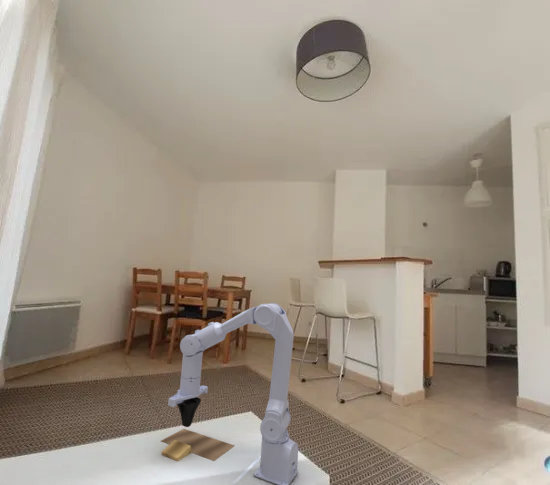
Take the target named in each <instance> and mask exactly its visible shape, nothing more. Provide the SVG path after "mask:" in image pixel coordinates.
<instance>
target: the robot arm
mask: <svg viewBox="0 0 550 485" xmlns="http://www.w3.org/2000/svg"><path fill="white" fill-rule="evenodd" d="M248 324H249V325H256V324H257V325H258V326H259V327H260V328H263V329H264V330H266V331H267V332H268V333H269V334H270V335H271V337H273V339H274V340H275V341H274V351H273V360H272V367H271V368H272V370H271V378H270V387H269V396H268V401H267V406H266V407H265V408H266V409H265V414H264V418H263V419H262V420H261V422H260V426H259V429H260V430H259V431H260V434H261V449H260V450H261V451H260V466H259V468H257V469H256V471H254V473H253V476H254V477H255V478H259V479H261V480H263V481H267V482H269V483H272V484H274V485H290V484H291V482H292V481H293V480H294V479H295V478H296V476H297V475H298V473H299V470H298V463H299V461H298V460H299V459H298V458H299V445H298V443H297V442H295V441H293V440H292V439H291V438H290V434H289V431H288V427H289V425H290V423H291V420H292V419H291V413H290V409H289V408H290V407H289V405H290V402H289V400H288V396H289V387H290V386H289V384H290V377H291V367H292V358H293V357H292V355H293V346H294V339H295V338H294V336H295V334H294V330H293V328H292V325H291V323H290V321H289V319H288V317H287V312H286V311H285V309H283V308H282V306H281V305H280V304H278V303H276V302H269V303H262V304H259V305H258V306H254V307H250V308H248V309H246V310H244V311H243V312H241V313H239V314H237V315H235V316H234V317H231V318H230V319H229V320H226V321H224V322H223V323H220V322H218V321H216V322H214V321H211V322H209V323H207V326H206V327H204V328H202V329H196V330H195V331H194V333H193V334H187V335H185V336H183V338H182V339H181V341H180V343H179V348H180V352H181V353H182V361H181V372H180V373H181V374H180V383H179V384H180V385H179V389H177V390H176V391H177V392H176V393H175V394H174V395H173V396H170V397H169V398H168V400H167V402H168V403H167V406H169V407H172V408H174V407H176V406H177V407H178V410H179V414H180V418H181V424H182V427H185V428H190V426H192V423H193V419H194V417H195V414H196V411H197V409H198V407H199V406H200V404H201V402H202V399H201V398H199V396H200V395H203V394H204V395H205V394H208V390H209V387H208V386H207V385H201V376H202V368H203V367H202V366H203V365H202V364H203V353H204V351H206V350H207V349H208V348H211V347H213V346H215V345H217V344H219V343H220V342H223V341H225V339H226V336H227V334H228V333H230V332H233V331H235V330H237V329H240V328H241V327H244V326H245V325H248Z"/></svg>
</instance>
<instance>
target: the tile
mask: <svg viewBox="0 0 550 485" xmlns="http://www.w3.org/2000/svg"><path fill="white" fill-rule="evenodd" d="M190 454H192V453H191V446H190V445H187V444H185V443H182V442H179V441H176V440H174V441H173V442H172V443H171V444H170V445H169V444H168V445H167V446H166V447H165V448H164V449H163V450H161V455H162V456H164V457H167V458H169V459H172V460H174V461H177V462H179V461H181V460H182V459H183V458H185V457H188V455H190Z"/></svg>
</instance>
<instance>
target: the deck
mask: <svg viewBox="0 0 550 485" xmlns="http://www.w3.org/2000/svg"><path fill="white" fill-rule="evenodd" d="M174 440H176V441H179V442H182V443H185V444H187V445H190V446H191V453H190V454H194V455H196V456H199V457H202V458H204V459H207V460H211V461H213V462H215V461H217V460H218V459H220V457H222V456H223V455H225V454H226V453H227V452H229V451H231V449H233V448H234V447H235V446H236V445H234V444H231V443H228V442H225V441H222V440H219V439H216V438H212V437H210V436H208V435H204V434H201V433H198V432H195V431H192V430H189V429H186V428H182V429H180V430H179V431H177V432H175V433H173V434H171V435H169V436H167V437H165V438H164V439H163V438H162V439H161V440H160V442H162V443H164V444H167V445H168V446H169V445H170V444H171V443H172V442H173V441H174Z"/></svg>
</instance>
